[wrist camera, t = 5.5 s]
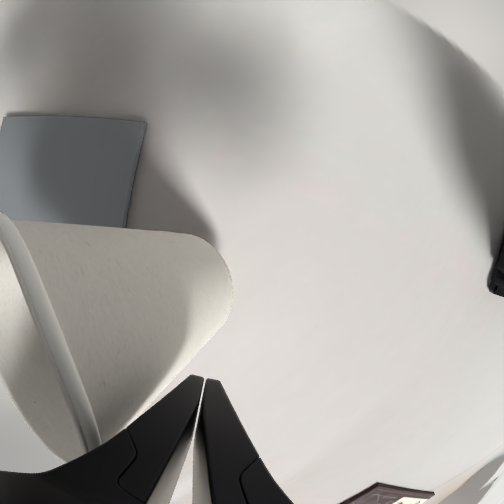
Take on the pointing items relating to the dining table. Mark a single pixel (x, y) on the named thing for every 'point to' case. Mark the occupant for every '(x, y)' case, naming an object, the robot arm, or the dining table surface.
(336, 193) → the dining table surface
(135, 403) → the dixie cup
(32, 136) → the mat
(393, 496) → the chocolate bar
